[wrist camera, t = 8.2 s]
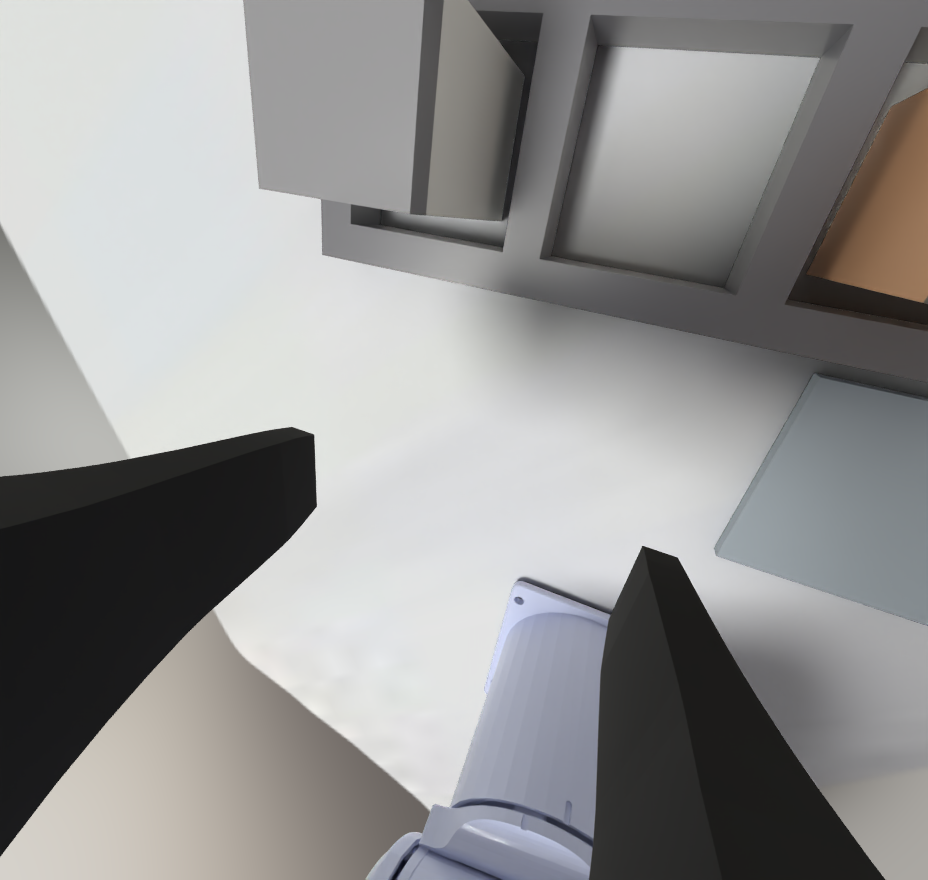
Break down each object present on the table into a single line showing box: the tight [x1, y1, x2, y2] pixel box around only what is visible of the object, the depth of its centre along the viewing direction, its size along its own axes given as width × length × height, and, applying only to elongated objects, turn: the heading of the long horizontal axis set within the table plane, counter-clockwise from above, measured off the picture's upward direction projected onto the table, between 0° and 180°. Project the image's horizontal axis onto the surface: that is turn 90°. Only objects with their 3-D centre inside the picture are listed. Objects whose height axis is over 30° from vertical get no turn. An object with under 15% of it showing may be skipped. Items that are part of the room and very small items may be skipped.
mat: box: [714, 373, 928, 626], centre depth 14 cm, size 8×8×1 cm
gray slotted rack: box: [321, 0, 928, 383], centre depth 12 cm, size 8×22×2 cm, turn 82°
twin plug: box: [243, 0, 525, 221], centre depth 11 cm, size 4×4×7 cm
